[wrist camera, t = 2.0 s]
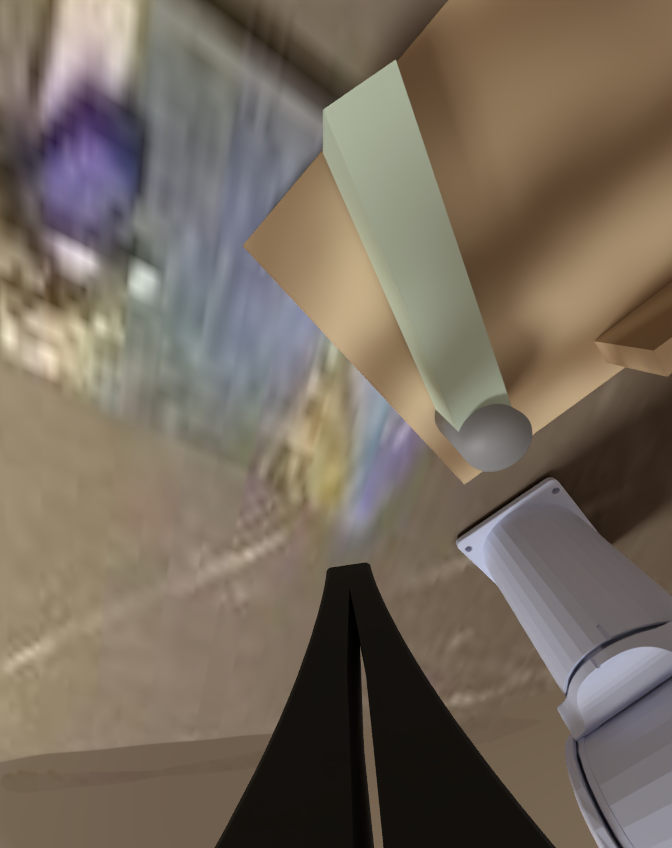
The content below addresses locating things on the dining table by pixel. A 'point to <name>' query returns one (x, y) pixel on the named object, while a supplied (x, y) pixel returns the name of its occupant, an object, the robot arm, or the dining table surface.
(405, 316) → the leg
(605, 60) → the stool seat
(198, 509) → the dining table surface
